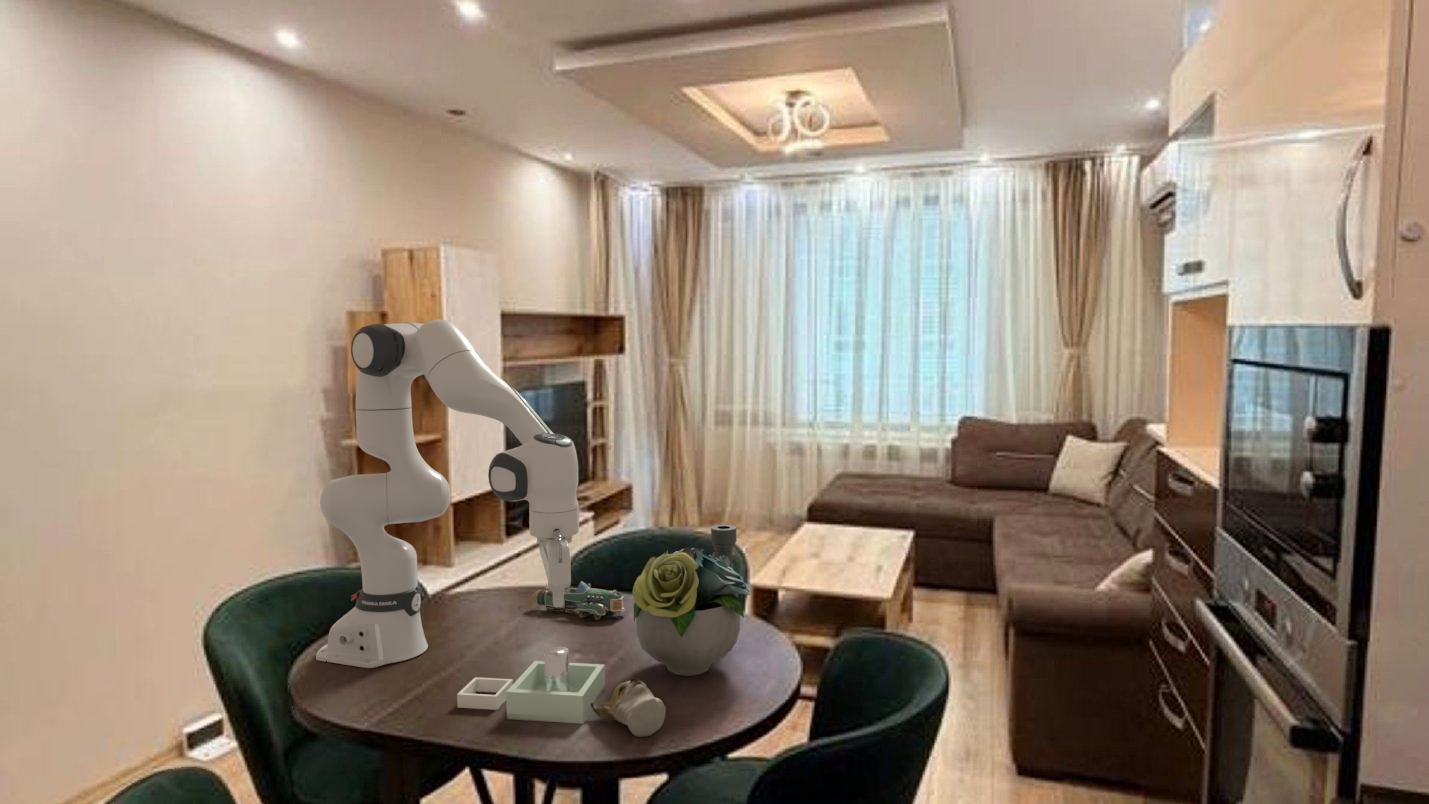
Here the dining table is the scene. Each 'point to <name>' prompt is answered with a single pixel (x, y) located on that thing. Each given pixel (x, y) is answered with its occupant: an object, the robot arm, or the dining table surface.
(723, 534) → the candle holder
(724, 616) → the flower arrangement
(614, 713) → the ceramic sculpture
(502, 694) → the socket collar
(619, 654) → the dining table surface
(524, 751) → the dining table surface
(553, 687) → the clear glass cylinder
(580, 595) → the green metal elongated vehicle
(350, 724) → the dining table surface
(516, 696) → the tray
